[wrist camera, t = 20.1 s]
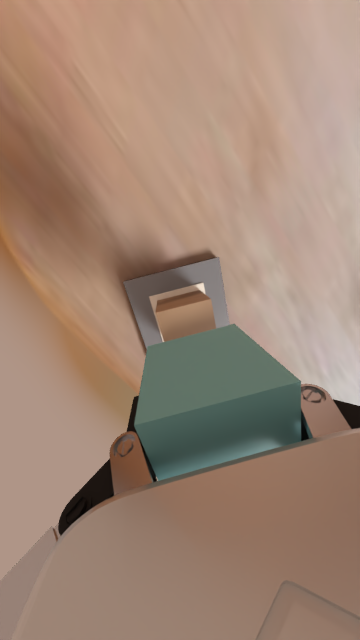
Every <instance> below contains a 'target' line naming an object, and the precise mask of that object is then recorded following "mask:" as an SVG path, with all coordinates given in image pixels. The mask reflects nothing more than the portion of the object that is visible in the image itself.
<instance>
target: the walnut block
mask: <svg viewBox="0 0 360 640" xmlns="http://www.w3.org/2000/svg"><path fill="white" fill-rule="evenodd" d="M156 316H157V320H158V323H159V327H160V330H161V333H162V337H163V340H164V342H166V341H170V340H174V339H177V338H181V337H185V336H189V335H193V334H197V333H201V332H205V331H209V330H212V329H216V324H215V319H214V313H213V307H212V302H211V298H209V297H208V296H207V295H206V294H204V293H203V292H202V291H201V290H197V291H193V292H189V293H185V294H181V295H177V296H173V297H169V298H165V299H161V300H157V306H156Z"/></svg>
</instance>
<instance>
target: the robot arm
mask: <svg viewBox="0 0 360 640" xmlns="http://www.w3.org/2000/svg"><path fill="white" fill-rule="evenodd" d="M142 376H143V375H142ZM141 382H142V381H141ZM140 388H141V387H140ZM139 394H140V393H139ZM138 399H139V396H136V397H134V400H133V404H132V409H131V414H130V419H129V423H128V428H127V432H125V433H123V434H121V435H120V436H119V437H117V438H116V440H115V441H114V442H113V444H112V445H111V448H110V459H109V460H108V461H107V462H106V463H105V464H104V465H103V466H102V467H101V468H100V469H99V471H98V472H97V473H96V474H95V475H94V476H93V477H92V478H91V479H90V480H89V481H88V482H87V483H86V484H85V485H84V486H83V487H82V489H81V490H80V491H79V492H78V493H77V494H76V495H75V496H74V497H73V498H72V499H71V500H70V502H69V503H68V504H67V505H66V507H65V509H64V510H63V512H62V514H61V517H60V520H59V523H58V524H57V525H56V526H55V528H53V527H50V529H49V530H48V531H47V532H46V533H45V534H44V535H43V536H42V537H41V538H40V539H39V540H38V541H37V543H35V545H34V546H33V547H32V548H31V549H30V550H29V551H28V552H27V553H26V554H25V555H24V556H23V557H22V558H21V559H20V561H19V562H18V563H17V564H16V565H15V566H14V567H13V568H12V569H11V570H10V571H9V572H8V573H7V574H6V575H5V577H4V578H3V579H2V580H1V581H0V640H360V406H357V405H353V404H349V403H345V402H341V401H338V400H334V399H332V398H331V396H330V395H329V393H328V392H327V391H326V390H324V389H323V388H321V387H319V386H316V385H312V384H301V441H300V442H296V443H293V444H289V445H285V446H282V447H278V448H274V449H270V450H267V451H263V452H259V453H256V454H252V455H249V456H245V457H241V458H238V459H234V460H230V461H227V462H223V463H220V464H216V465H212V466H209V467H205V468H202V469H198V470H195V471H191V472H188V473H184V474H181V475H177V476H174V477H170V478H167V479H163V480H160V481H157V478H156V474H155V472H154V470H153V468H152V465H151V463H150V461H149V458H148V456H147V454H146V452H145V449H144V447H143V445H142V442H141V440H140V438H139V436H138V433H137V431H136V429H135V426H134V423H135V417H136V411H137V405H138Z"/></svg>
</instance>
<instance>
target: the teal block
mask: <svg viewBox="0 0 360 640" xmlns="http://www.w3.org/2000/svg"><path fill="white" fill-rule="evenodd" d="M134 426H135V429H136V431H137V433H138V436H139V438H140V440H141V442H142V445H143V447H144V449H145V452H146V454H147V456H148V458H149V461H150V463H151V465H152V468H153V470H154V472H155V474H156V477H157V479H158V481H160V480H163V479H167V478H170V477H174V476H177V475H181V474H184V473H188V472H191V471H195V470H198V469H202V468H205V467H209V466H212V465H216V464H220V463H223V462H227V461H230V460H234V459H238V458H241V457H245V456H249V455H252V454H256V453H259V452H263V451H267V450H270V449H274V448H278V447H282V446H285V445H289V444H293V443H296V442H300V441H301V381H300V380H299V379H298V378H296V377H295V376H294V375H293V374H292V373H291V372H290V371H288V370H287V369H286V368H285V367H284V366H283V365H281V364H280V363H279V362H278V361H277V360H276V359H274V358H273V357H272V356H271V355H270V354H269V353H267V352H266V351H265V350H264V349H263V348H262V347H261V346H259V345H258V344H257V343H256V342H255V341H254V340H252V339H251V338H250V337H249V336H248V335H247V334H245V333H244V332H243V331H242V330H241V329H240V328H238V327H237V326H236V325H235V324H232V325H228V326H224V327H220V328H216V329H212V330H209V331H205V332H201V333H197V334H193V335H189V336H185V337H181V338H177V339H174V340H170V341H166V342H162V343H158V344H154V345H150V346H148V347H147V353H146V358H145V364H144V370H143V376H142V382H141V388H140V394H139V399H138V405H137V411H136V417H135V423H134Z"/></svg>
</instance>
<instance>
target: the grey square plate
mask: <svg viewBox="0 0 360 640" xmlns="http://www.w3.org/2000/svg"><path fill="white" fill-rule="evenodd" d="M123 283H124V286H125V289H126V292H127V294H128V297H129V300H130V303H131V306H132V309H133V312H134V315H135V317H136V320H137V323H138V326H139V329H140V332H141V335H142V338H143V340H144V343H145V346H146V349H147V347H148V346H150V345H154V344H158V343H162V342H164V340H163V337H162V333H161V330H160V327H159V323H158V320H157V316H156V306H157V300H161V299H165V298H169V297H173V296H177V295H181V294H185V293H189V292H193V291H197V290H201V291H202V292H203V293H204V294H206V295H207V296H208V297H209V298H211V302H212V307H213V313H214V319H215V324H216V328H220V327H224V326H228V325H230V324H229V318H228V312H227V305H226V299H225V292H224V286H223V280H222V273H221V267H220V261H219V257H216V258H212V259H208V260H204V261H201V262H197V263H193V264H189V265H185V266H181V267H177V268H174V269H170V270H166V271H162V272H158V273H154V274H150V275H146V276H143V277H139V278H135V279H131V280H127V281H124V282H123Z"/></svg>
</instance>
